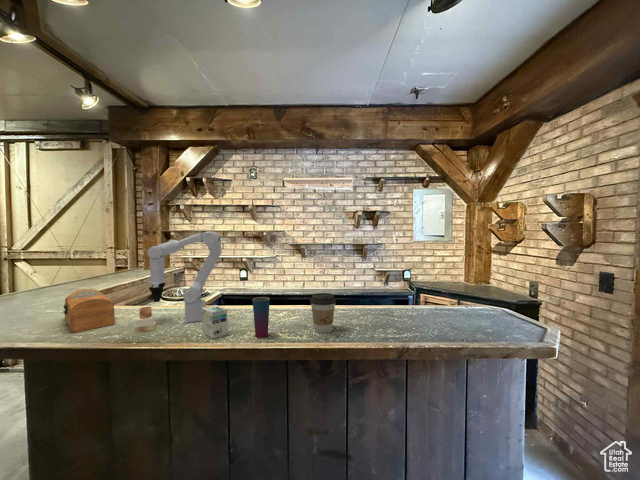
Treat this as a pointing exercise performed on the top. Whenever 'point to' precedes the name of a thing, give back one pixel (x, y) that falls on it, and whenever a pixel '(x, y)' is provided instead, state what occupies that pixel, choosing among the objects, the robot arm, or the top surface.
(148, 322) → the tower top
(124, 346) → the top surface
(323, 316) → the coffee cup
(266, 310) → the cup
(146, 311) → the cylinder
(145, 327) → the tower base
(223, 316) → the light bulb box
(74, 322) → the wooden box
